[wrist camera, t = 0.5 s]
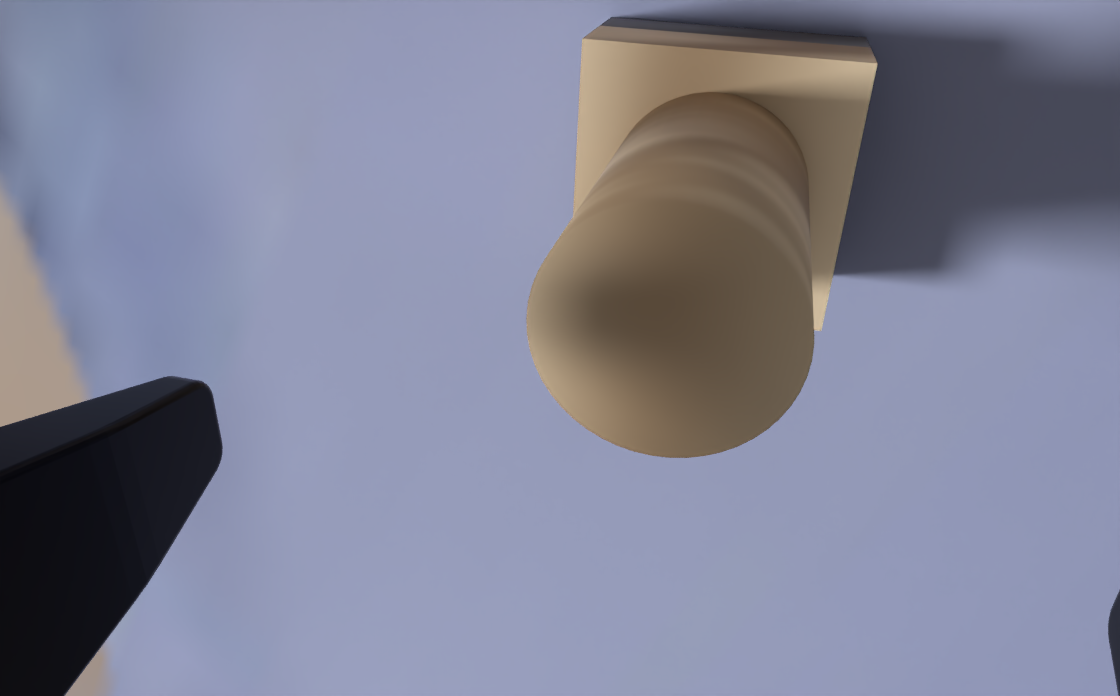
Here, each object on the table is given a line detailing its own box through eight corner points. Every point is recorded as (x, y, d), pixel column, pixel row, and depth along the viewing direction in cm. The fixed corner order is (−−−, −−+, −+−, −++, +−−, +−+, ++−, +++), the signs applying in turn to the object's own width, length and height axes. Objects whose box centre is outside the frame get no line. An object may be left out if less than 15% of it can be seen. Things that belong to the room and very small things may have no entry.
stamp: (866, 37, 17) (922, 165, 9) (817, 274, 19) (831, 530, 12) (611, 17, 18) (473, 119, 10) (596, 245, 20) (476, 465, 13)
